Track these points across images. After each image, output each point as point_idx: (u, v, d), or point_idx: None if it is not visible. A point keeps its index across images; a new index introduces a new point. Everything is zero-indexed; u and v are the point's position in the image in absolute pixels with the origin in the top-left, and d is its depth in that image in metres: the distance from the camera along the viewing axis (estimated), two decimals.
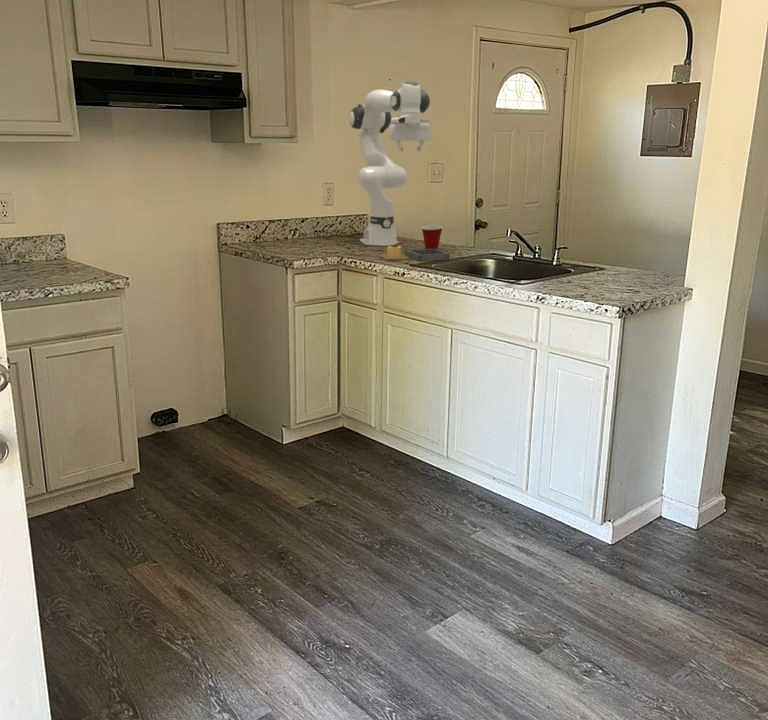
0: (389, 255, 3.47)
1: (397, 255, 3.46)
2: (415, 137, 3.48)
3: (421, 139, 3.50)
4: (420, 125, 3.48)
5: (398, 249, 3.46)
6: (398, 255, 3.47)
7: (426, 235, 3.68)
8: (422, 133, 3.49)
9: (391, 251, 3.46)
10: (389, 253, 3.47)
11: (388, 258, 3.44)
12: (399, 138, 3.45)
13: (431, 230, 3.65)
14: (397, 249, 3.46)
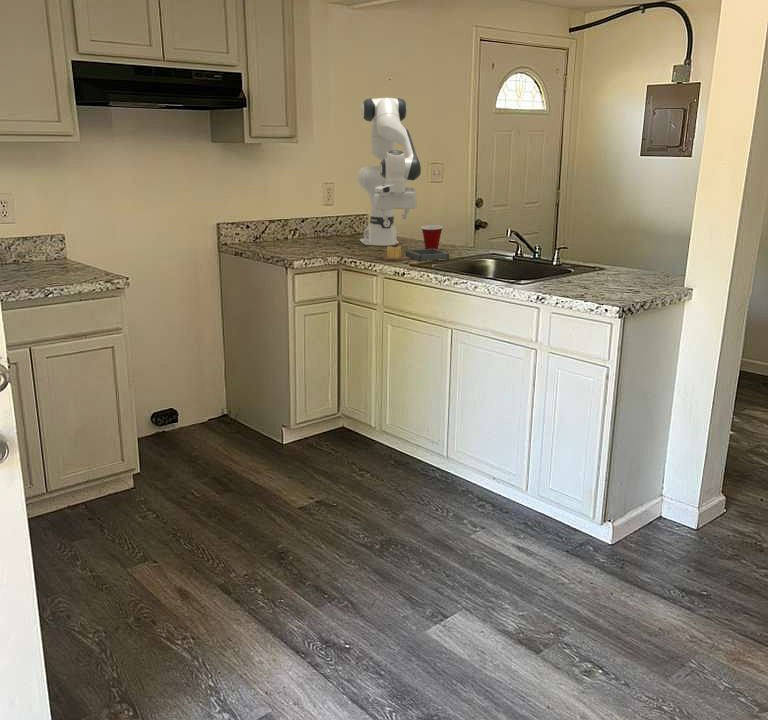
0: (389, 255, 3.47)
1: (397, 255, 3.46)
2: (400, 206, 3.42)
3: (406, 207, 3.43)
4: (405, 194, 3.41)
5: (398, 249, 3.46)
6: (398, 255, 3.47)
7: (426, 235, 3.68)
8: (407, 202, 3.42)
9: (391, 251, 3.46)
10: (389, 253, 3.47)
11: (388, 258, 3.44)
12: (383, 207, 3.38)
13: (431, 230, 3.65)
14: (397, 249, 3.46)
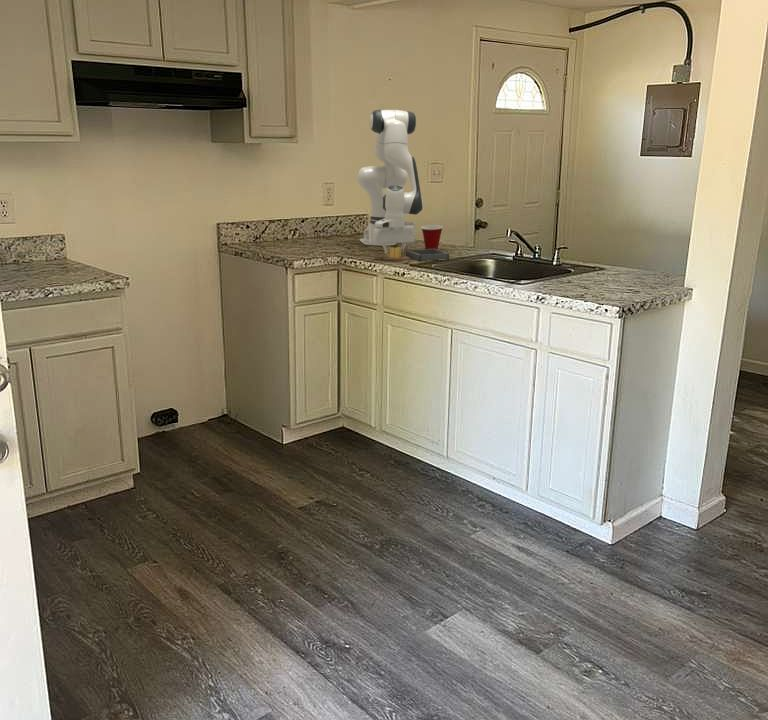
0: (389, 255, 3.47)
1: (397, 255, 3.46)
2: (399, 240, 3.46)
3: (405, 241, 3.48)
4: (404, 228, 3.46)
5: (398, 249, 3.46)
6: (398, 255, 3.47)
7: (426, 235, 3.68)
8: (406, 236, 3.47)
9: (391, 251, 3.46)
10: (389, 253, 3.47)
11: (388, 258, 3.44)
12: (383, 242, 3.43)
13: (431, 230, 3.65)
14: (397, 249, 3.46)
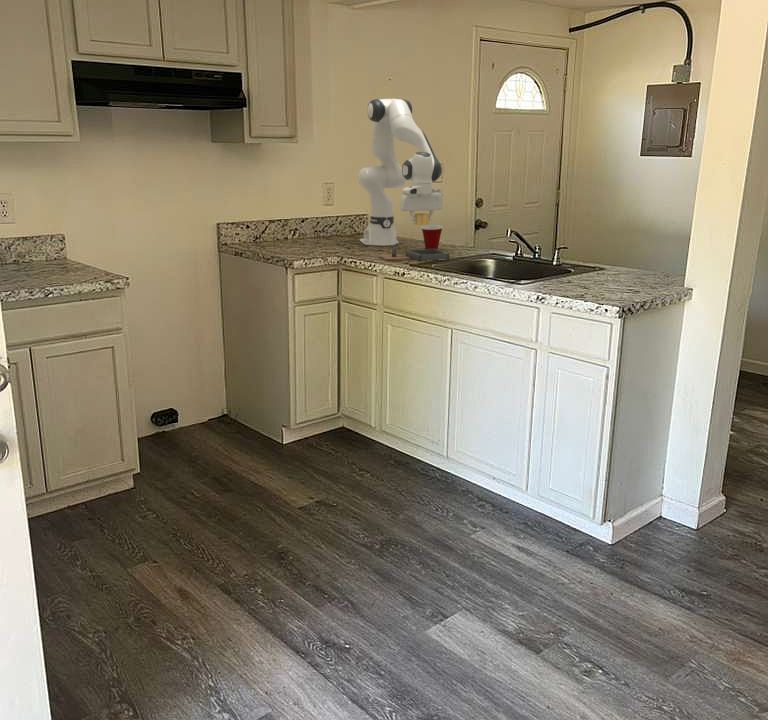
0: (416, 222, 3.44)
1: (424, 222, 3.44)
2: (427, 207, 3.44)
3: (433, 209, 3.45)
4: (432, 195, 3.43)
5: (425, 216, 3.43)
6: (425, 222, 3.44)
7: (426, 235, 3.68)
8: (434, 203, 3.44)
9: (418, 218, 3.43)
10: (416, 220, 3.44)
11: (388, 258, 3.44)
12: (410, 209, 3.41)
13: (431, 230, 3.65)
14: (424, 216, 3.43)
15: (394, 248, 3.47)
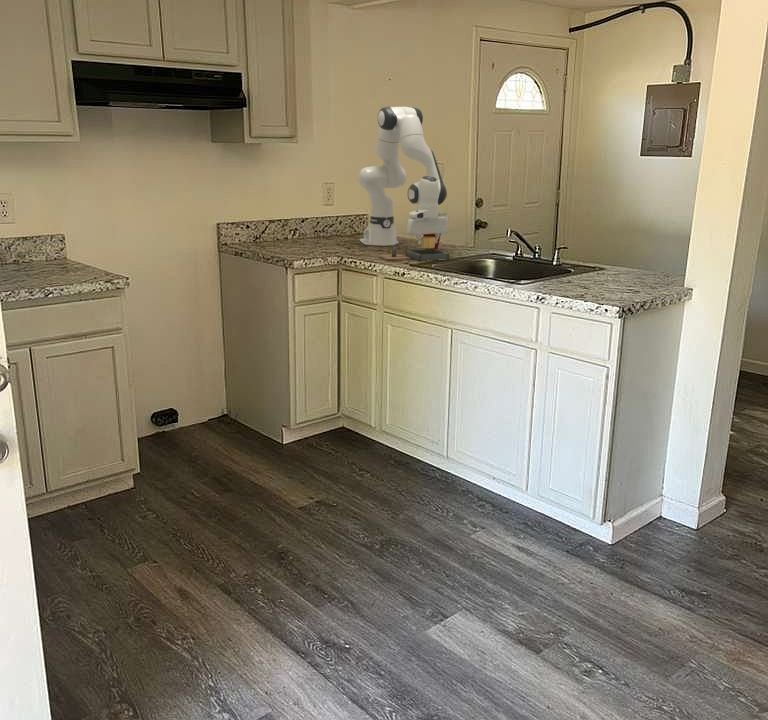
0: (423, 246, 3.48)
1: (431, 246, 3.47)
2: (433, 231, 3.47)
3: (439, 232, 3.49)
4: (438, 219, 3.47)
5: (432, 240, 3.47)
6: (432, 246, 3.48)
7: (426, 235, 3.68)
8: (440, 226, 3.48)
9: (425, 242, 3.47)
10: (423, 244, 3.48)
11: (388, 258, 3.44)
12: (417, 232, 3.44)
13: None
14: (431, 240, 3.47)
15: (394, 248, 3.47)
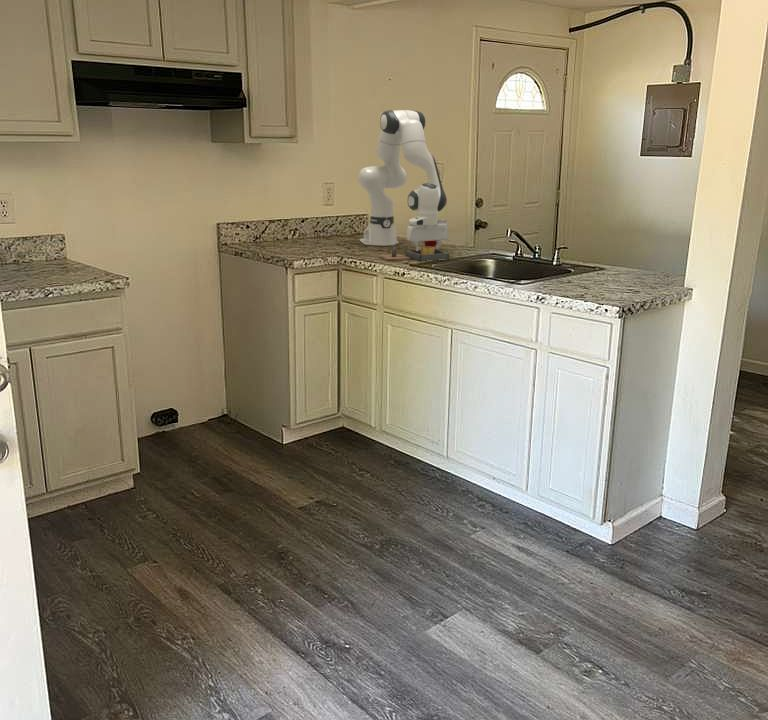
0: None
1: None
2: (433, 238, 3.48)
3: (438, 239, 3.50)
4: (438, 226, 3.48)
5: (431, 249, 3.48)
6: None
7: None
8: (439, 233, 3.49)
9: (424, 251, 3.48)
10: (422, 253, 3.49)
11: (388, 258, 3.44)
12: (417, 239, 3.45)
13: None
14: (430, 249, 3.48)
15: (394, 248, 3.47)
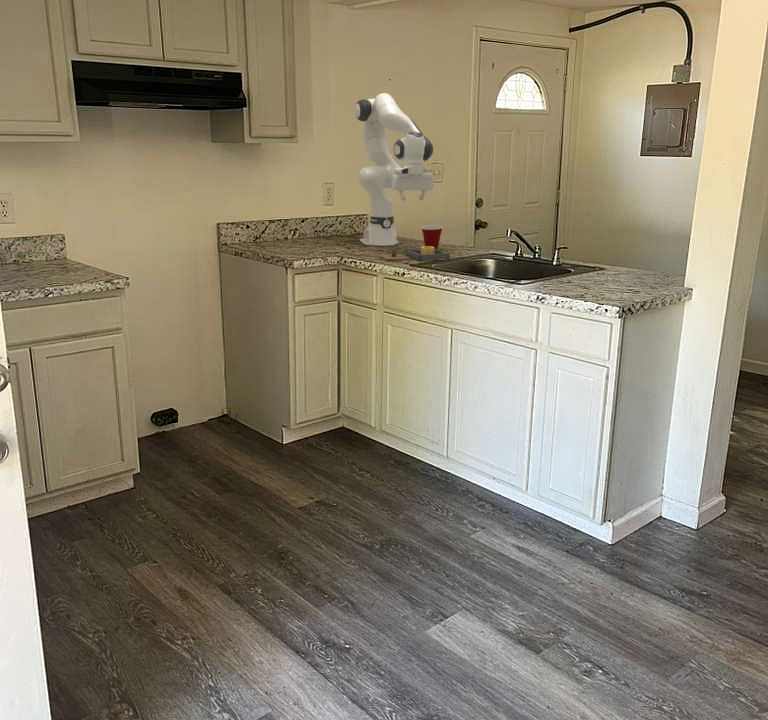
0: None
1: None
2: (418, 187, 3.49)
3: (424, 189, 3.50)
4: (423, 175, 3.48)
5: (431, 249, 3.48)
6: None
7: (426, 235, 3.68)
8: (425, 183, 3.50)
9: (424, 251, 3.48)
10: (422, 253, 3.49)
11: (388, 258, 3.44)
12: (402, 188, 3.46)
13: (431, 230, 3.65)
14: (430, 249, 3.48)
15: (394, 248, 3.47)
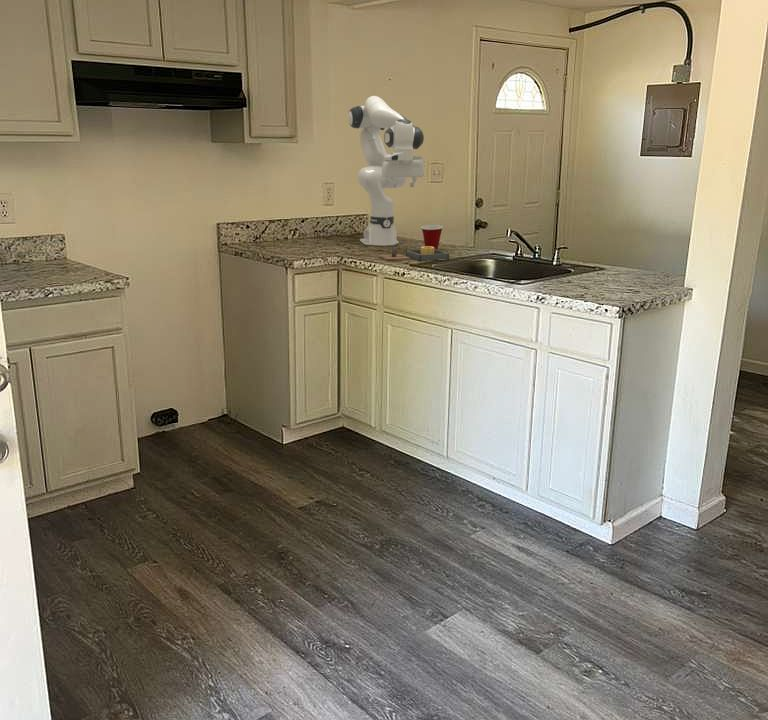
0: None
1: None
2: (408, 174, 3.51)
3: (414, 176, 3.52)
4: (413, 162, 3.50)
5: (431, 249, 3.48)
6: None
7: (426, 235, 3.68)
8: (415, 170, 3.52)
9: (424, 251, 3.48)
10: (422, 253, 3.49)
11: (388, 258, 3.44)
12: (392, 175, 3.48)
13: (431, 230, 3.65)
14: (430, 249, 3.48)
15: (394, 248, 3.47)
